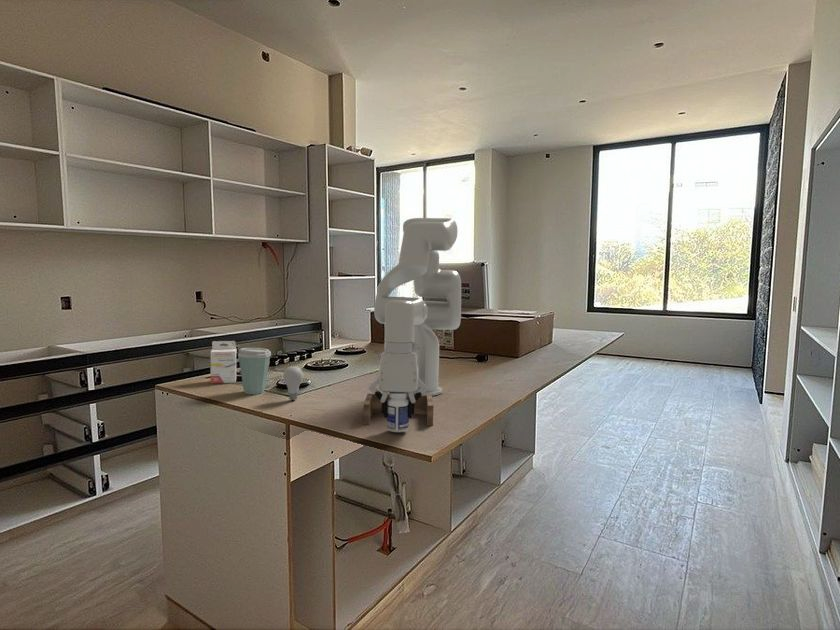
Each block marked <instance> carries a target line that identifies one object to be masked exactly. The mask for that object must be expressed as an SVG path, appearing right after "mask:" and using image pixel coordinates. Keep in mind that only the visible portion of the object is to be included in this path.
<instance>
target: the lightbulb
mask: <svg viewBox="0 0 840 630" xmlns="http://www.w3.org/2000/svg"><path fill="white" fill-rule="evenodd" d="M282 378H283V381H284V382H285V385H286V388H287V392H288V399H289V400H291V401H292V400H294V401H296V400H297V399H298V395H299V394H298V393H299V390H300V389H299V388H300V386H301V383H302V381H303V379H304V372H303V371H302V369H301V368H300V367H298V366H295V365H294V366H289V367H287V368H286V369H285V370H284V372H283V375H282Z"/></svg>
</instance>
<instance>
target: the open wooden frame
mask: <svg viewBox="0 0 840 630" xmlns="http://www.w3.org/2000/svg"><path fill="white" fill-rule="evenodd" d="M389 399H390V397H389V393H388V395H387V401H388V400H389ZM406 399H407V400H408V401H410V397H409V395H408V393H407V397H406ZM362 409H363V412H362V413H363V420H362V422H363V423H362V424H363V425H370V422H371V418H372V415H373V414H382V402H381V401H380V400H379V399H378V398H377V397H376V396H375V394H373V393H367V394H366V397H365V400H364V402H363V408H362ZM413 415H426V424H427V426H434V400H433V396H432V395H422V396H421V397H420V398H419V399H418V400H417V401H416V402H415V403H414V414H413Z"/></svg>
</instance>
